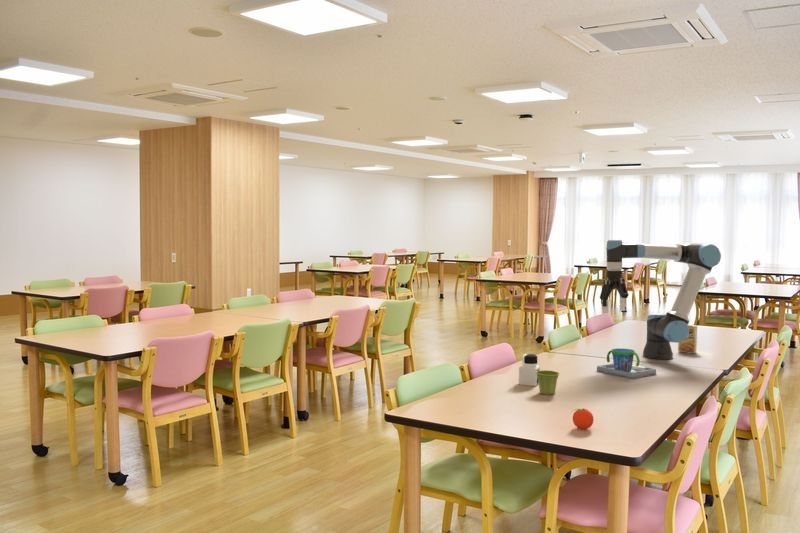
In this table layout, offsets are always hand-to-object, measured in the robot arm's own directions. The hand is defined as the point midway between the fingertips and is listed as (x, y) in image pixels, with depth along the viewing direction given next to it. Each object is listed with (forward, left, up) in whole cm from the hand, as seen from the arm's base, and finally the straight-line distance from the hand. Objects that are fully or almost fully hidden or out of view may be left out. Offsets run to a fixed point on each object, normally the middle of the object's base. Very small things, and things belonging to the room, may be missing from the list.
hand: (614, 311), depth 348 cm
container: (+70, +12, -27) cm, 76 cm away
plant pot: (+76, +29, -27) cm, 85 cm away
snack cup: (+17, +20, -26) cm, 36 cm away
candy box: (-60, +1, -27) cm, 66 cm away
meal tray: (+14, +19, -26) cm, 35 cm away
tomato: (+103, +72, -27) cm, 128 cm away
